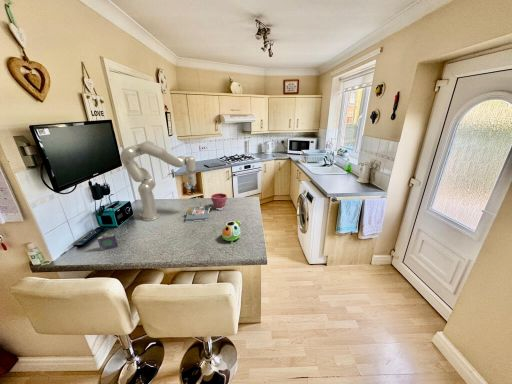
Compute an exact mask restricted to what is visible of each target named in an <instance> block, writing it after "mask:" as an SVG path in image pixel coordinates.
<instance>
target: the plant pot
mask: <svg viewBox="0 0 512 384" xmlns="http://www.w3.org/2000/svg"><path fill="white" fill-rule="evenodd" d="M210 197H211V199H210V200H211V201H212V204H213V206H214V209H215V208H222V207H224V206H225V207H226V202H227V200H228V195H227V194H225V193H221V192H220V193H218V192H217V193H214V194H212V195H210Z"/></svg>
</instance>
